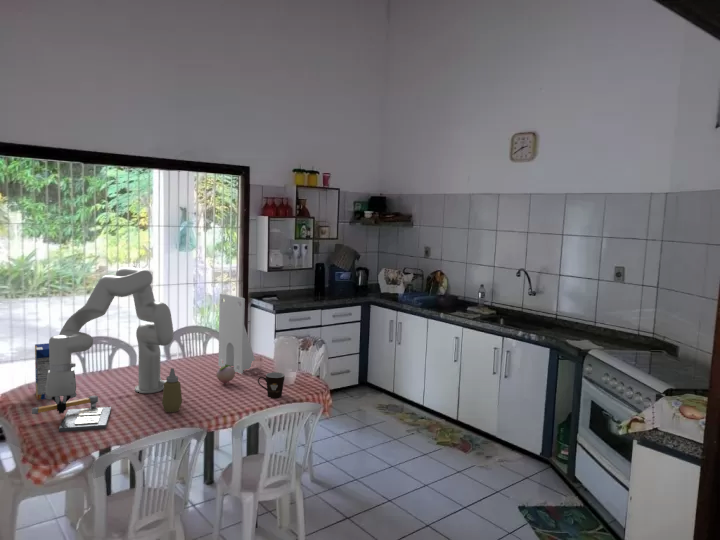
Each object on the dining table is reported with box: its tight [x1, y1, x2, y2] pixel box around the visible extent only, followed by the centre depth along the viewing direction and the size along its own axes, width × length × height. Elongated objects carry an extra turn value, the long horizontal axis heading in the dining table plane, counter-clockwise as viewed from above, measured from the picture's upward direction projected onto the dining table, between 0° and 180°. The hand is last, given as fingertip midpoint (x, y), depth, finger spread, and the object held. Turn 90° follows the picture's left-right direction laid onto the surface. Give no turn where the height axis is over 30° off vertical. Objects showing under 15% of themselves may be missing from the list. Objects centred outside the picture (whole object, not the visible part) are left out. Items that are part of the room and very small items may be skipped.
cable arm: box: [31, 395, 99, 415], centre depth 225 cm, size 4×24×2 cm, turn 135°
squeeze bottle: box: [161, 368, 183, 413], centre depth 236 cm, size 8×8×18 cm
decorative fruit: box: [216, 364, 236, 385], centre depth 274 cm, size 9×8×10 cm
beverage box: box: [34, 342, 50, 401], centre depth 247 cm, size 7×11×22 cm, turn 33°
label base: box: [58, 402, 112, 433], centre depth 223 cm, size 16×23×3 cm
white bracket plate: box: [217, 292, 256, 374], centre depth 300 cm, size 20×14×40 cm
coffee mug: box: [257, 371, 286, 399], centre depth 260 cm, size 12×9×10 cm
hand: (61, 412), depth 222 cm, fingers closed
